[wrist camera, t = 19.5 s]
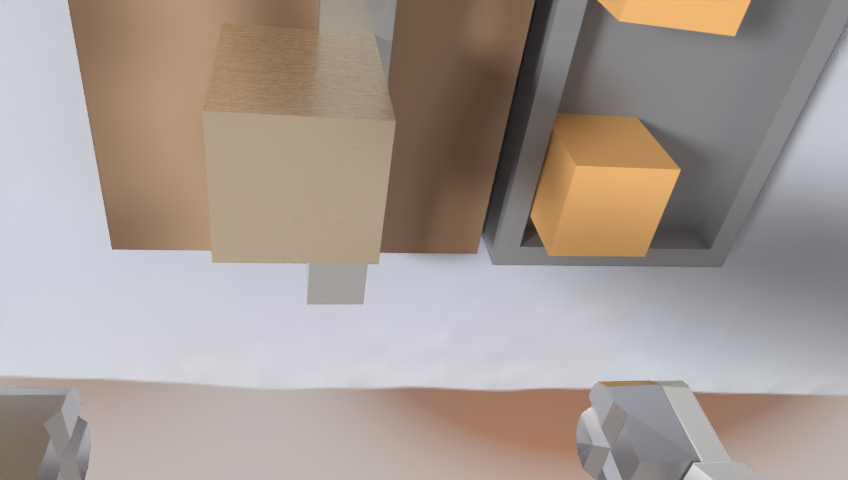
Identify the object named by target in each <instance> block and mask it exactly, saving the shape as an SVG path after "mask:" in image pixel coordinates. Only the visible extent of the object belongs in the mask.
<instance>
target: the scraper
mask: <svg viewBox="0 0 848 480" xmlns="http://www.w3.org/2000/svg"><path fill="white" fill-rule="evenodd" d="M396 2H397V0H316V20H315V30H304V29H292V28H279V27H266V26H253V25H240V24H227V23H223V25H222V29H221V33H220V37H219V42H218V46H217V50H216V55H215V59H214V63H213V68H212V72H211V76H210V81H209V85H208V89H207V94H206V98H205V102H204V107H203V126H204V141H205V157H206V172H207V187H208V202H209V218H210V233H211V248H212V262H218V263H306V270H307V304H363V301H364V292H365V283H366V274H367V265H368V264H378V263H379V255H380V247H381V239H382V230H383V222H384V214H385V206H386V198H387V190H388V182H389V173H390V165H391V157H392V149H393V141H394V133H395V125H396V119H395V115H394V111H393V107H392V103H391V99H390V95H389V91H388V87H387V84H388V75H389V66H390V57H391V48H392V39H393V30H394V21H395V12H396Z"/></svg>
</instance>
